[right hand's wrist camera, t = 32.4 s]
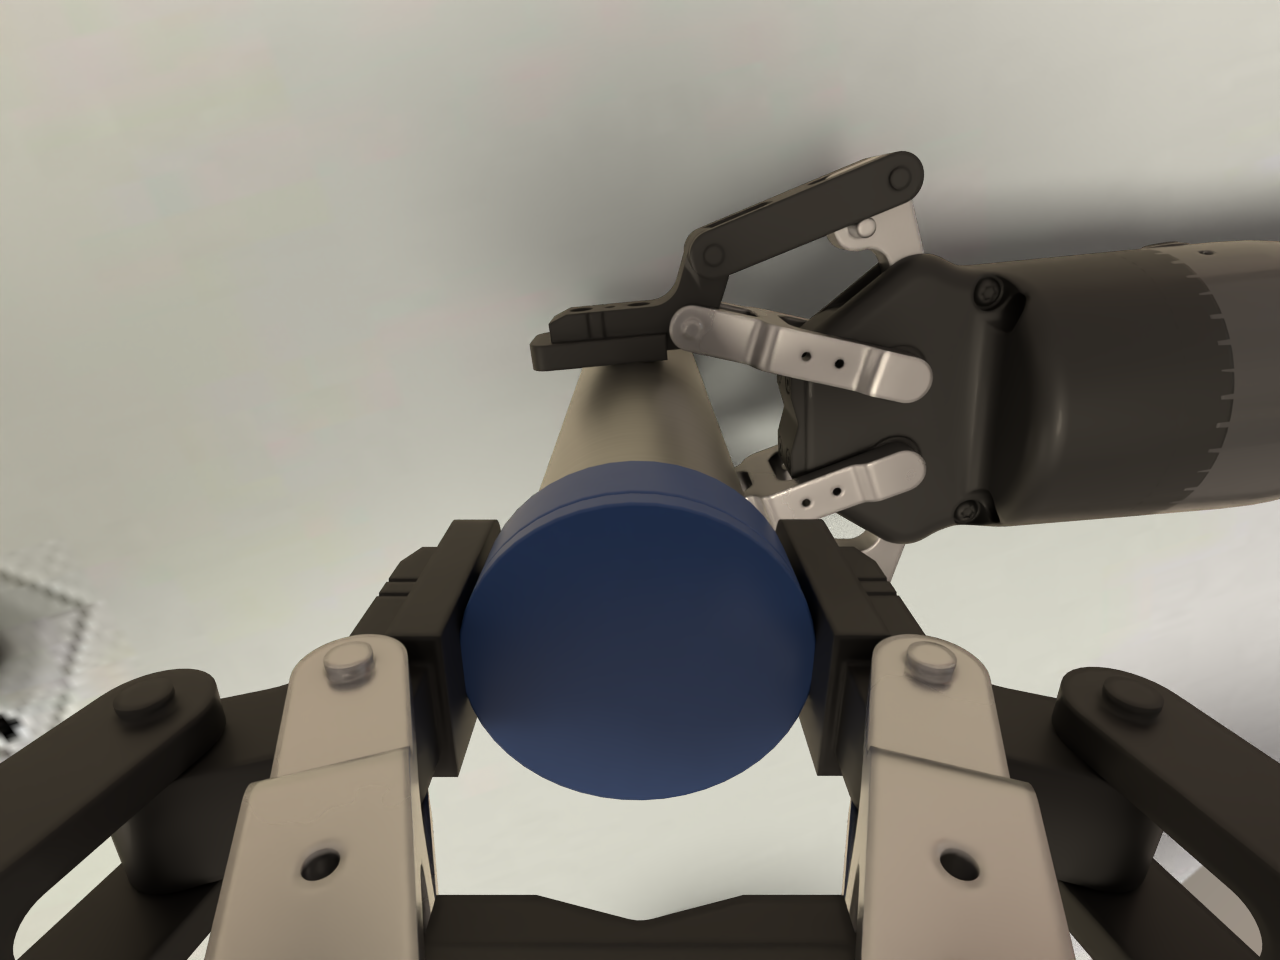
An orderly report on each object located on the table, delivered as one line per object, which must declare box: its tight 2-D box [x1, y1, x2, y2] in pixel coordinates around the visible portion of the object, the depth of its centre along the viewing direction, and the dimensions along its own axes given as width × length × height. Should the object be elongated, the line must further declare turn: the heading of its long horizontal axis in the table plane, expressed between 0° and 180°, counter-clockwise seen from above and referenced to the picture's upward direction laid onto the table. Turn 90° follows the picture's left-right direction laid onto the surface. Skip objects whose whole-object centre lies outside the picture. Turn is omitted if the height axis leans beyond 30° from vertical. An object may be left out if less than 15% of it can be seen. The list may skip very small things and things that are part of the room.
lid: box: [460, 461, 816, 800], centre depth 10 cm, size 5×5×2 cm
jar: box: [539, 349, 745, 497], centre depth 18 cm, size 4×4×17 cm
